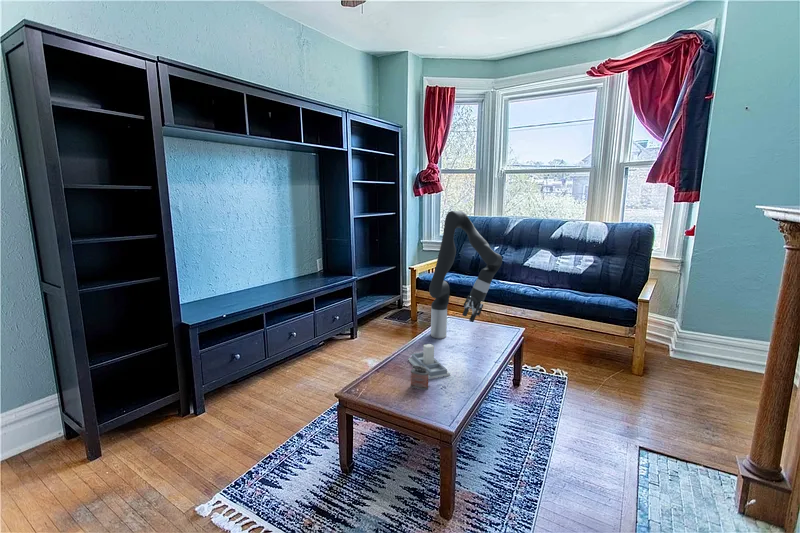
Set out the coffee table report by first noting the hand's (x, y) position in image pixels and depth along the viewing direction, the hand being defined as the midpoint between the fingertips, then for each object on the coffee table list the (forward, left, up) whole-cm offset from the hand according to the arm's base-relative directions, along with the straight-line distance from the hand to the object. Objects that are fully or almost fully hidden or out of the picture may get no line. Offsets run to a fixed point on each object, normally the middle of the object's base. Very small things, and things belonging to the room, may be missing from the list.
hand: (467, 318), depth 197 cm
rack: (+4, -23, -21) cm, 32 cm away
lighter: (+20, -35, -21) cm, 46 cm away
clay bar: (+4, -23, -20) cm, 31 cm away
